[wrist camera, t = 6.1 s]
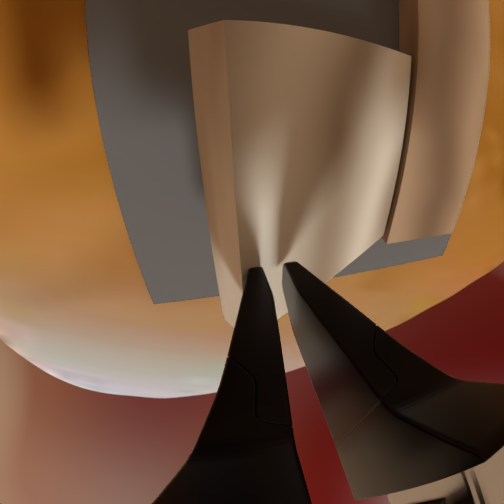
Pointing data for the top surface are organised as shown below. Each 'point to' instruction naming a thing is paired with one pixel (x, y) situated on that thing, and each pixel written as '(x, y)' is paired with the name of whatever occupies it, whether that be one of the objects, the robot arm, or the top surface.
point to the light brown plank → (439, 113)
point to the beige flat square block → (294, 147)
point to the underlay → (184, 125)
